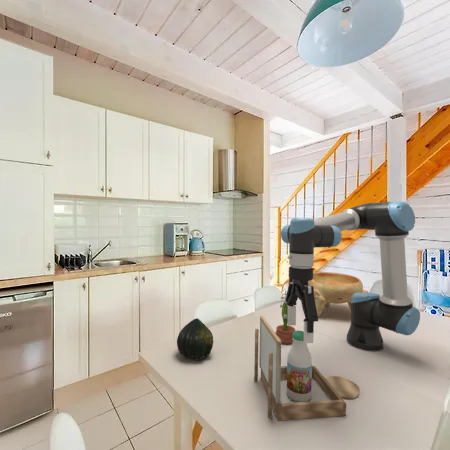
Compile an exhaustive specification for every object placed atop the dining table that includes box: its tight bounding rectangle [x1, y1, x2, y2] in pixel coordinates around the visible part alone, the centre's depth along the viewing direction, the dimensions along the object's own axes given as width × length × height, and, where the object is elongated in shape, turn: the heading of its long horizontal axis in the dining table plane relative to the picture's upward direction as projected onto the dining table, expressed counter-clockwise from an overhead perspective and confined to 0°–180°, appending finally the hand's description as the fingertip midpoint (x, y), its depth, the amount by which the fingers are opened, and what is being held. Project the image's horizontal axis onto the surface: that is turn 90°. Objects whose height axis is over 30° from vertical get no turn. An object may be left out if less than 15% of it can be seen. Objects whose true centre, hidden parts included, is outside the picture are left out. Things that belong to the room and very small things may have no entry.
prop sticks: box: [253, 328, 273, 419], centre depth 83 cm, size 1×18×18 cm, turn 6°
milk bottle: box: [286, 330, 313, 403], centre depth 85 cm, size 8×8×20 cm
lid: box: [258, 315, 282, 405], centre depth 84 cm, size 1×20×18 cm, turn 7°
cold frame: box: [260, 364, 347, 421], centre depth 85 cm, size 20×20×4 cm
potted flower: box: [274, 288, 296, 345], centre depth 123 cm, size 12×10×25 cm
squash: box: [176, 317, 214, 361], centre depth 110 cm, size 14×15×15 cm
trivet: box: [324, 375, 361, 400], centre depth 89 cm, size 11×11×1 cm
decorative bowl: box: [308, 271, 370, 318], centre depth 164 cm, size 34×35×23 cm
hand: (299, 333), depth 85 cm, fingers open, 13 cm apart
